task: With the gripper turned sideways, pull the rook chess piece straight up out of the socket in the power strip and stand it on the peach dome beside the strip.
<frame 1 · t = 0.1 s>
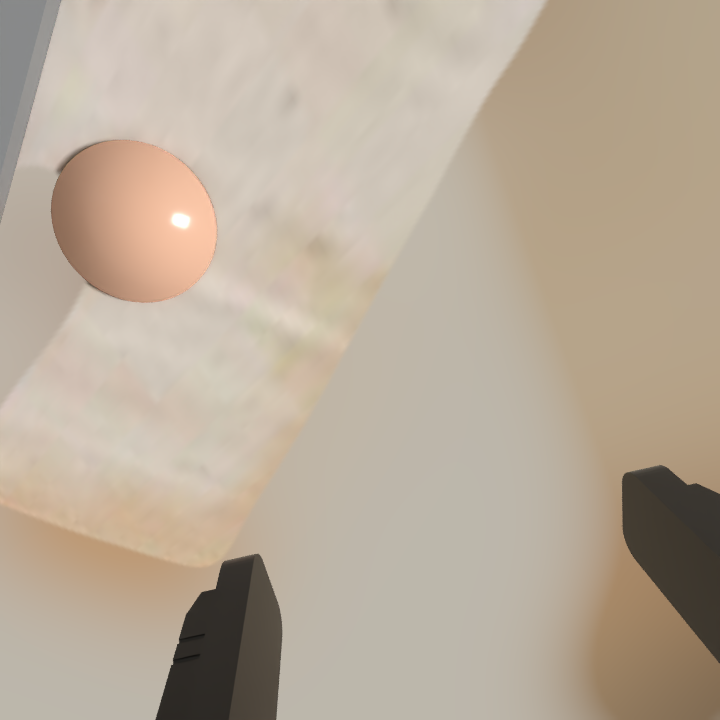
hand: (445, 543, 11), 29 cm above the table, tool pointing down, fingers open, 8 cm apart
peach dome: (137, 224, 36), on the table
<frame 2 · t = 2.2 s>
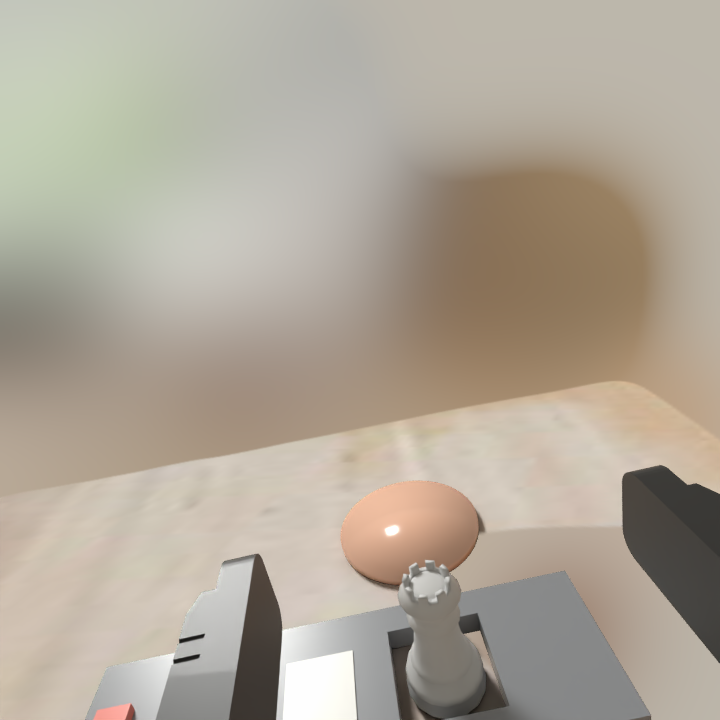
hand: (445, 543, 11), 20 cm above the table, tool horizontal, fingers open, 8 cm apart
power strip: (343, 704, 28), on the table
peach dome: (409, 529, 40), on the table
rook chess piece: (447, 685, 28), resting in power strip
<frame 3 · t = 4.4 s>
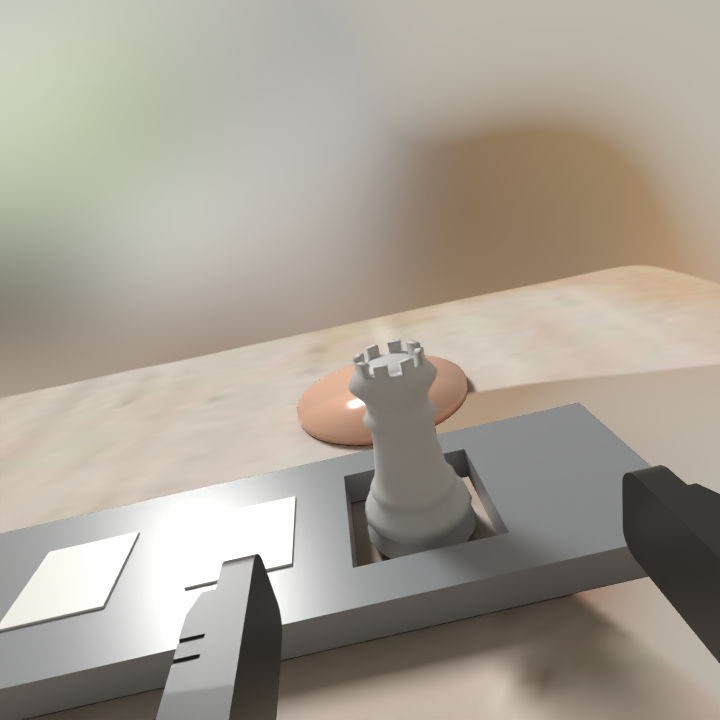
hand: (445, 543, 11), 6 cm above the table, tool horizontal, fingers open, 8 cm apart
power strip: (279, 562, 21), on the table
peach dome: (381, 397, 33), on the table
rook chess piece: (423, 534, 21), resting in power strip
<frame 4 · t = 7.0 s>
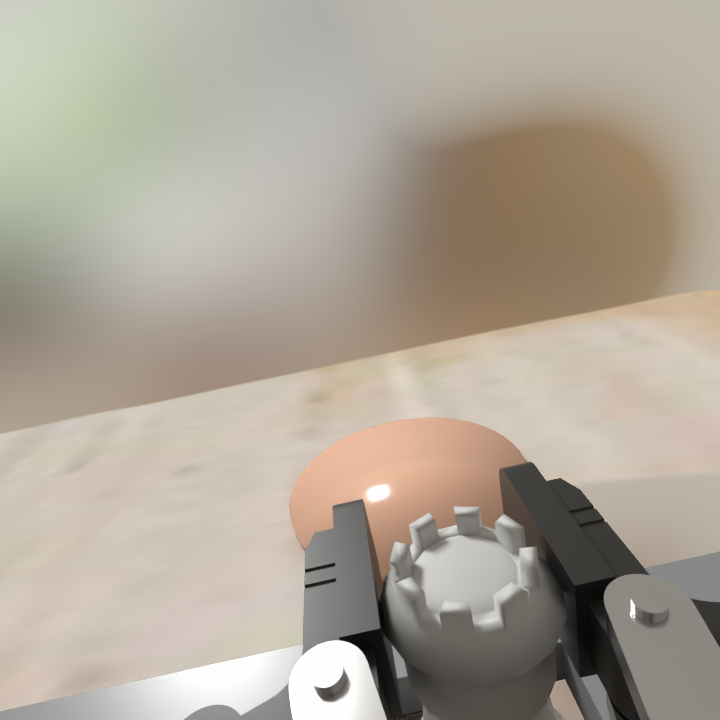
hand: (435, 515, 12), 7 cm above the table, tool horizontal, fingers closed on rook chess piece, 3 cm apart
peach dome: (407, 488, 23), on the table
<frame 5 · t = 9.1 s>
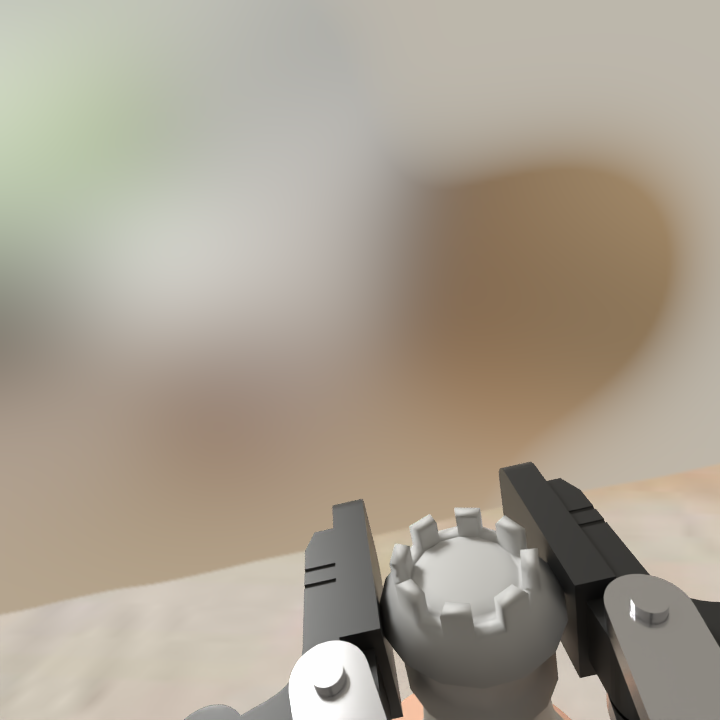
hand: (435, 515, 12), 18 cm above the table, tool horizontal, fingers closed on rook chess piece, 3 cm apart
when the fingers open (8 cm above the table, at t = 11.5 s): rook chess piece moves 1 cm, resting on peach dome.
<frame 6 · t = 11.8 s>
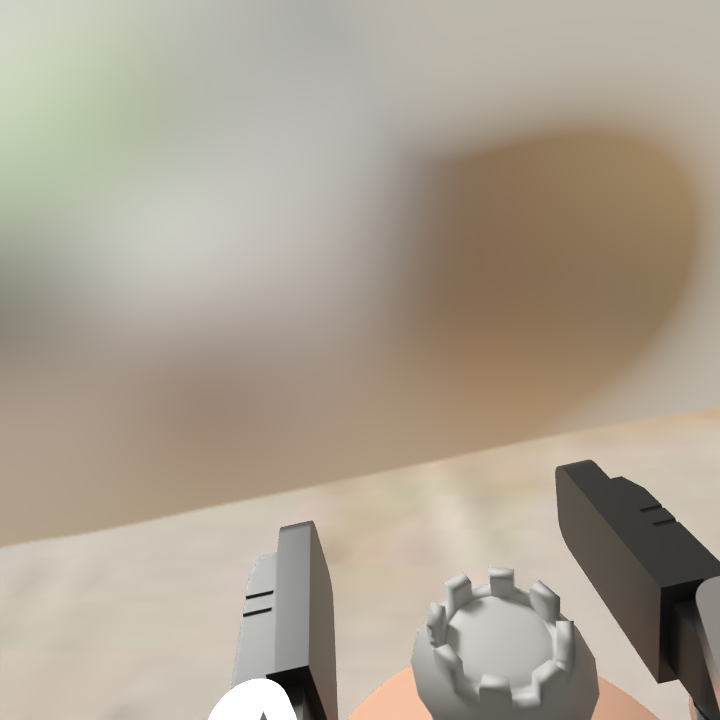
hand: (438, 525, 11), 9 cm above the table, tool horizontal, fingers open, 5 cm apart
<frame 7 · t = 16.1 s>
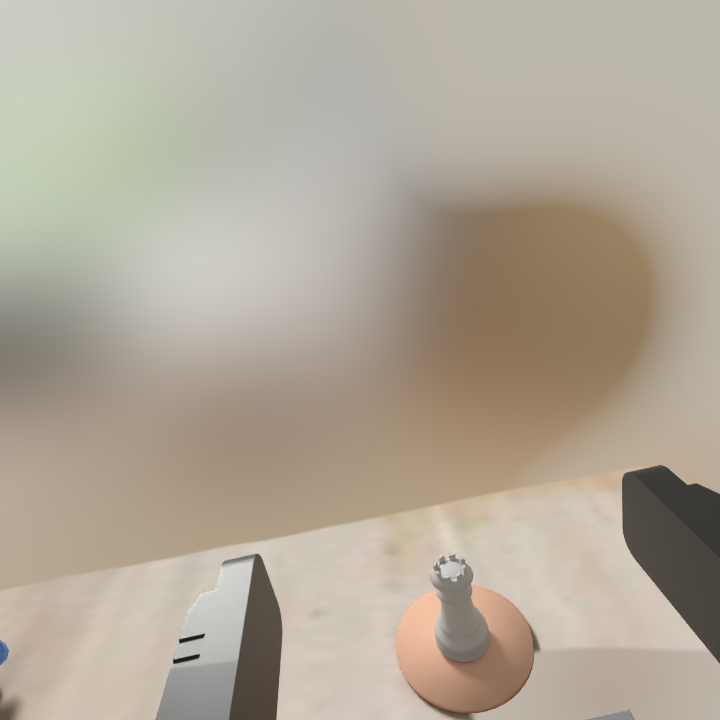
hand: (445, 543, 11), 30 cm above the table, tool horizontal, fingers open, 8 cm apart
peach dome: (463, 643, 41), on the table
rook chess piece: (463, 642, 41), resting on peach dome
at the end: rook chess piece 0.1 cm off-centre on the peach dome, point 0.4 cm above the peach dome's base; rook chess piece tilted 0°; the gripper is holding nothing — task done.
